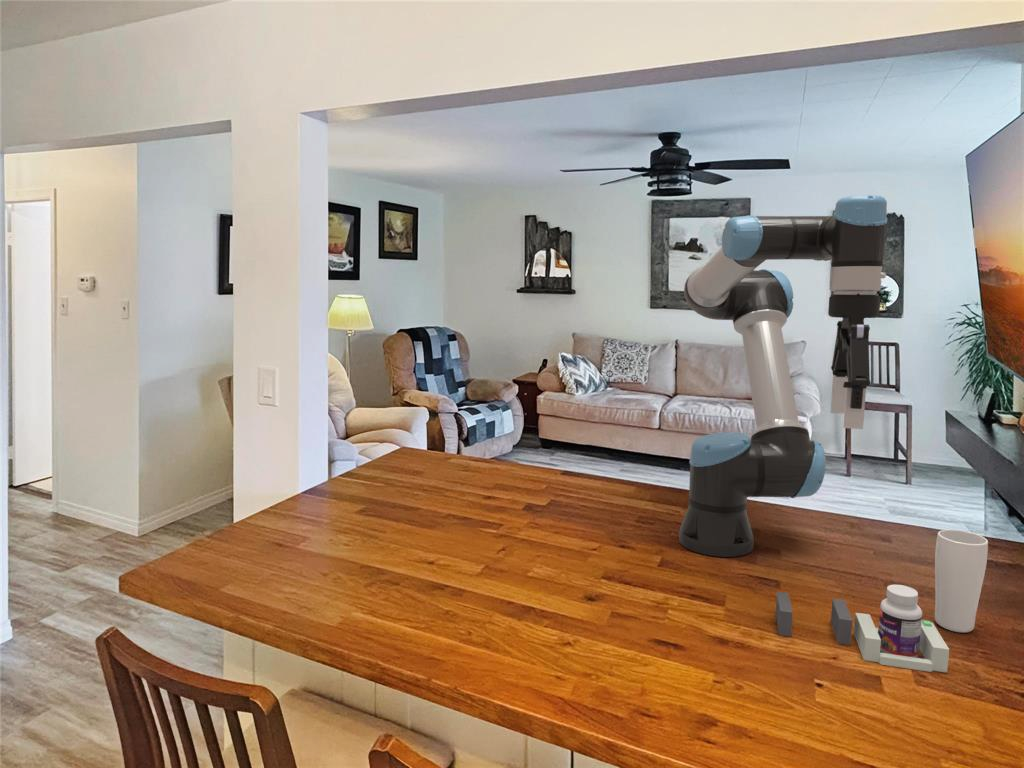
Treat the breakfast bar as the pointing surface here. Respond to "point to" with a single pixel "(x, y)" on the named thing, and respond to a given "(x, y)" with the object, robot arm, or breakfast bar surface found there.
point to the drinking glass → (958, 578)
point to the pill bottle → (900, 622)
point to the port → (929, 647)
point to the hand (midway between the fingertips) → (845, 420)
